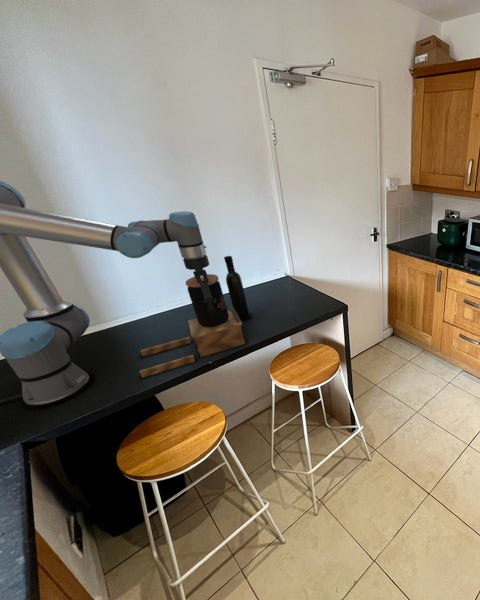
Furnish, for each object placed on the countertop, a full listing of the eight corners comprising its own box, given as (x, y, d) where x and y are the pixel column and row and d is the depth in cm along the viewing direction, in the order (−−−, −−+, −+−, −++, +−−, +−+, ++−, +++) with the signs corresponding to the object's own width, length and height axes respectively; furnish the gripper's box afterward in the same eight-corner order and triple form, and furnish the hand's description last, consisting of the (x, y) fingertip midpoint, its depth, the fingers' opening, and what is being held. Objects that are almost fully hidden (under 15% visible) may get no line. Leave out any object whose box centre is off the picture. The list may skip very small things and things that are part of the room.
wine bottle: (236, 321, 144) (219, 259, 130) (236, 316, 148) (220, 255, 135) (250, 319, 146) (235, 257, 133) (249, 313, 150) (235, 254, 137)
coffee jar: (216, 329, 118) (203, 286, 110) (192, 326, 120) (177, 283, 112) (235, 316, 128) (224, 275, 120) (212, 313, 130) (200, 273, 122)
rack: (142, 378, 109) (128, 349, 104) (142, 355, 121) (130, 328, 115) (247, 345, 127) (240, 319, 122) (239, 328, 139) (232, 303, 133)
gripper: (211, 263, 106) (227, 319, 115) (202, 246, 122) (217, 297, 132) (185, 267, 102) (204, 325, 111) (180, 250, 118) (197, 302, 128)
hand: (211, 310), depth 122 cm, fingers closed on coffee jar, 11 cm apart
